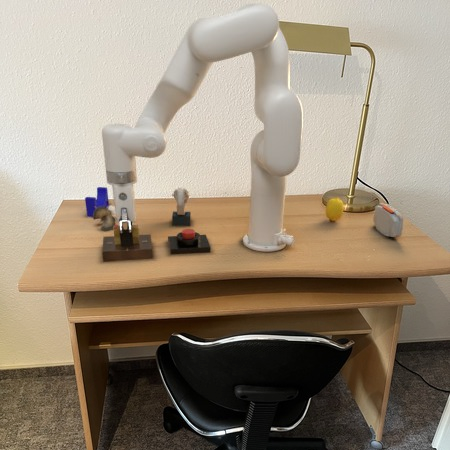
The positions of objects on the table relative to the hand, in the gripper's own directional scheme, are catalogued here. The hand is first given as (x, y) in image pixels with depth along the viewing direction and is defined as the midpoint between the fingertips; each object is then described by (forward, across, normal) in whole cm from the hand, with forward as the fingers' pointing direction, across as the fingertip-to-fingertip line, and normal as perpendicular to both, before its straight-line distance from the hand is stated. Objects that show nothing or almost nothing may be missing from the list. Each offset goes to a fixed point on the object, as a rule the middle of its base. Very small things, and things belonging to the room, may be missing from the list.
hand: (127, 238), depth 133 cm
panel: (+4, 0, 0) cm, 4 cm away
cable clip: (+4, +35, +9) cm, 36 cm away
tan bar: (+1, 0, 0) cm, 1 cm away
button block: (+4, +2, -17) cm, 17 cm away
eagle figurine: (+4, +21, +7) cm, 23 cm away
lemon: (+4, +16, -65) cm, 67 cm away
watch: (+4, +20, -17) cm, 26 cm away
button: (+1, +1, -17) cm, 17 cm away
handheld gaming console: (+4, +4, -78) cm, 78 cm away
